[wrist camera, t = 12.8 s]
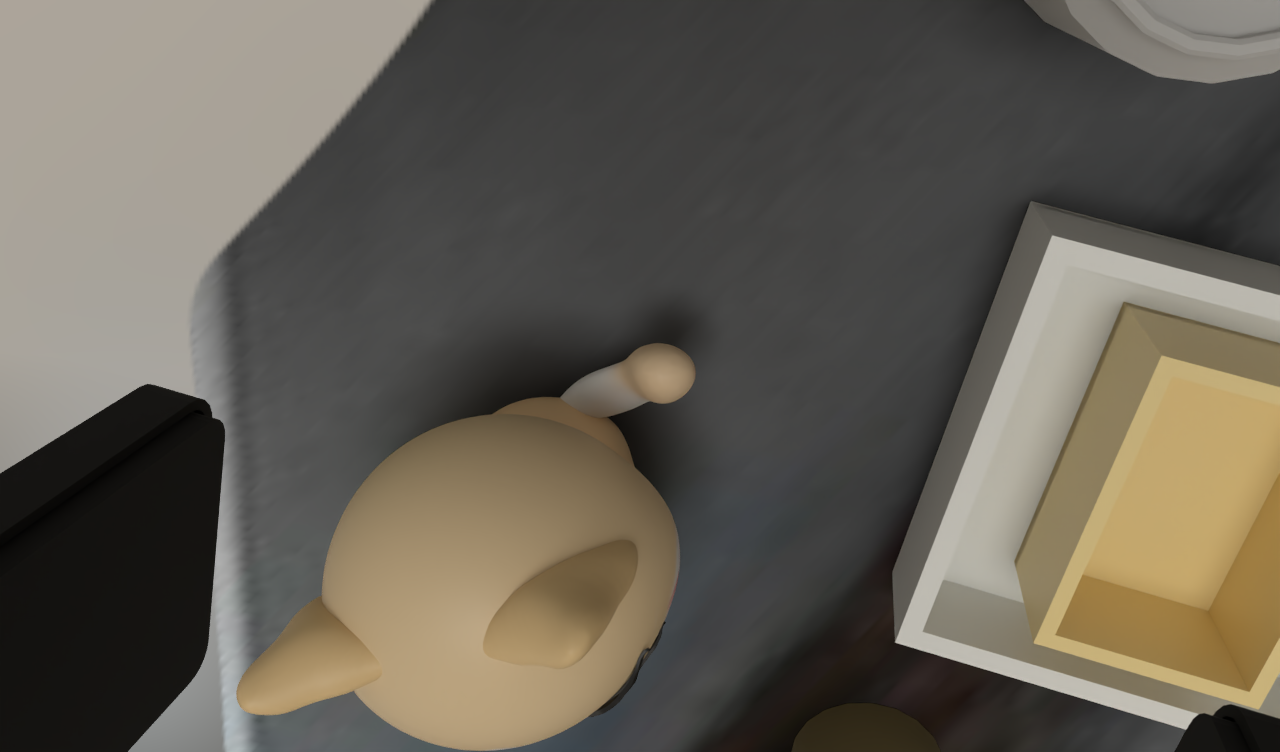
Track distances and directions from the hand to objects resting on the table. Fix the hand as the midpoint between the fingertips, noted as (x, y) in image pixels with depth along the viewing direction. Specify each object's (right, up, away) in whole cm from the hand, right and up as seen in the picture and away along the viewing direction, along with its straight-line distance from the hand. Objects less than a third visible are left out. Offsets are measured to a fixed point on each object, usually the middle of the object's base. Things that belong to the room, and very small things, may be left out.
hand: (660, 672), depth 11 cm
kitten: (-4, -1, +32) cm, 32 cm away
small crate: (+17, 0, +27) cm, 32 cm away
